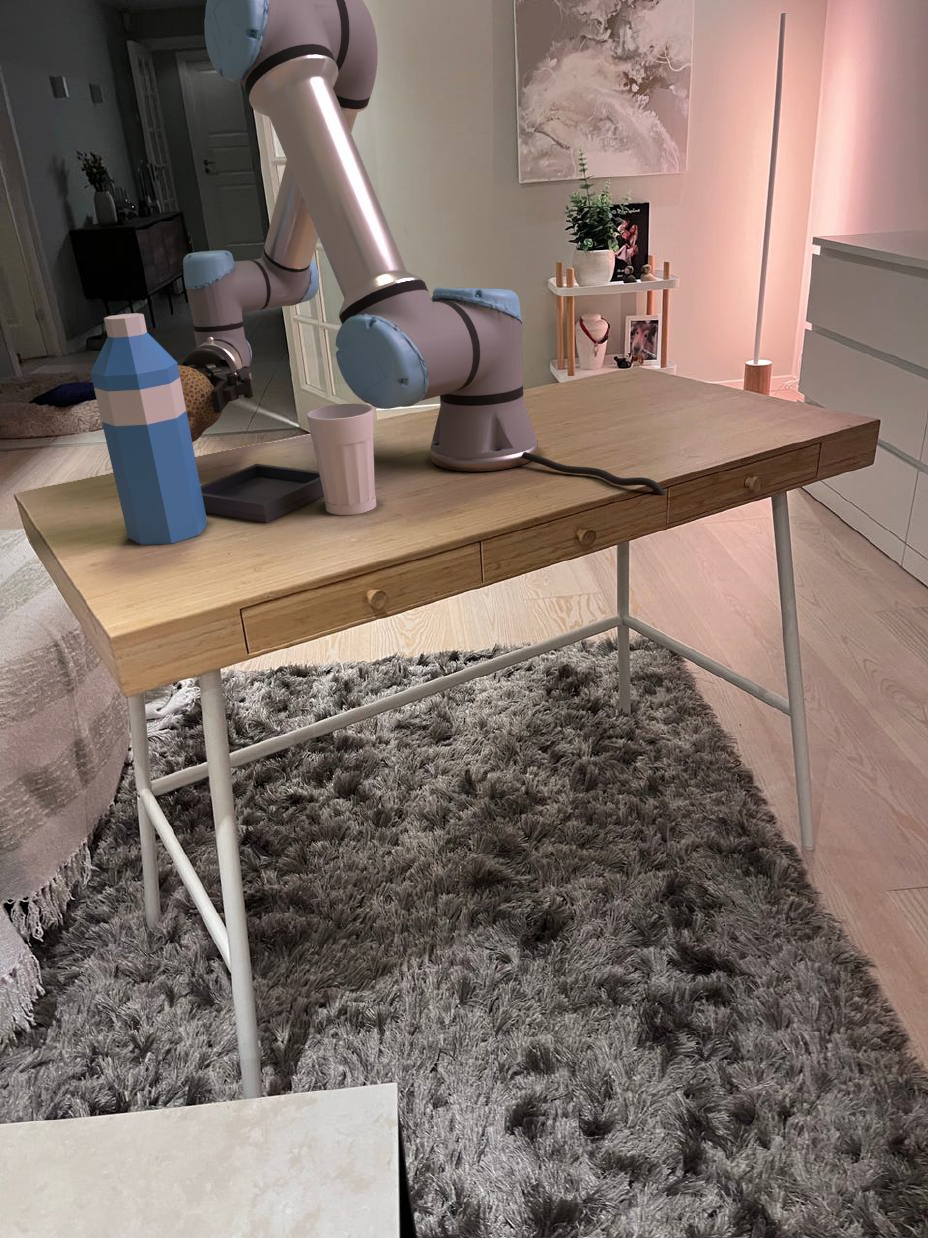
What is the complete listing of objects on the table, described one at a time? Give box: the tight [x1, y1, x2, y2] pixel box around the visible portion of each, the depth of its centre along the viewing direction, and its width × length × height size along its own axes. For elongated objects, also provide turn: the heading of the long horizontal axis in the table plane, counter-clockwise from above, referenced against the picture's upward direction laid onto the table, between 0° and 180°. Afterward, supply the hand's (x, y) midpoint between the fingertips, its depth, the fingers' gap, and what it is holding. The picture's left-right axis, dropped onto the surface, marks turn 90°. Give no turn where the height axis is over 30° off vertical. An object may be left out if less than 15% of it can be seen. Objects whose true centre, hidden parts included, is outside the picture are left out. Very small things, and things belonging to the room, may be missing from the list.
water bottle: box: [90, 312, 209, 546], centre depth 108 cm, size 9×9×25 cm
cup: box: [306, 403, 377, 516], centre depth 115 cm, size 8×8×12 cm
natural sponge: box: [178, 364, 223, 443], centre depth 123 cm, size 9×9×10 cm
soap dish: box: [200, 463, 324, 524], centre depth 122 cm, size 14×14×2 cm
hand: (176, 404), depth 118 cm, fingers closed on natural sponge, 9 cm apart
